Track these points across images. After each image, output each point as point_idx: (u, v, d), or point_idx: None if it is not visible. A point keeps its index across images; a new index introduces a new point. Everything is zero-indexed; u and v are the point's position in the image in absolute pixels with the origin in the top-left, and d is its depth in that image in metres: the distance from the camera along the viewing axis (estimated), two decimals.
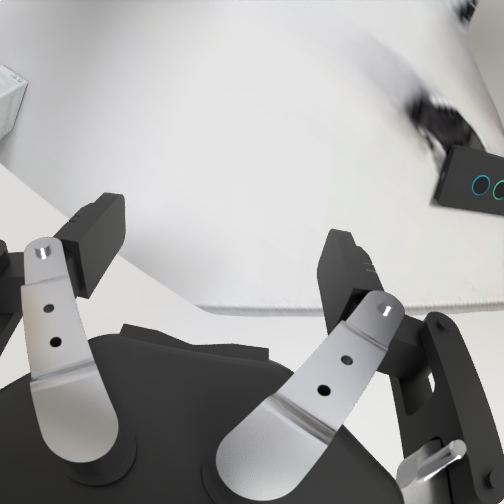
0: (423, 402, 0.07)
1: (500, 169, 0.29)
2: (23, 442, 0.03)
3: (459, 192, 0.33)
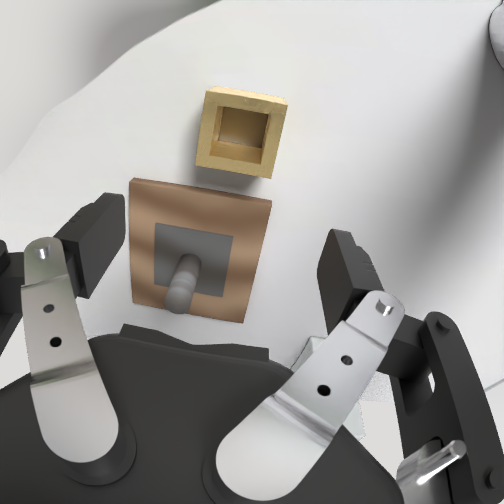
0: (423, 402, 0.07)
1: None
2: (23, 442, 0.03)
3: None
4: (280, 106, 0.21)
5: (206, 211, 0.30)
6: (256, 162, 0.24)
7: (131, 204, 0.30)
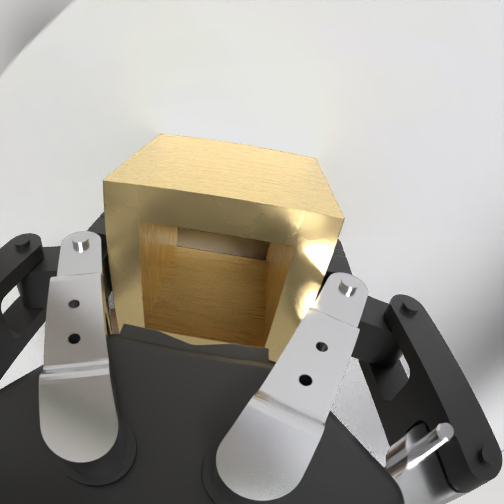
0: (399, 385, 0.08)
1: None
2: (23, 442, 0.03)
3: None
4: (322, 223, 0.08)
5: None
6: (254, 339, 0.10)
7: None
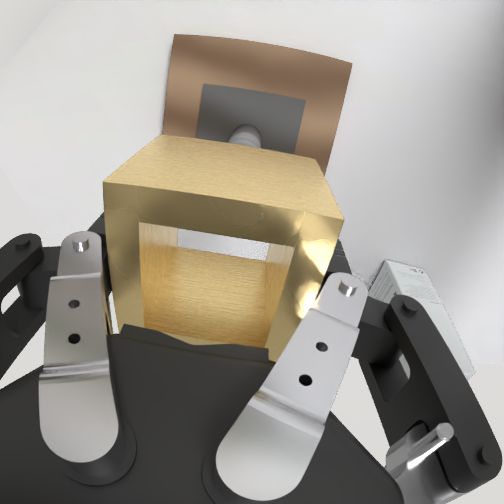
0: (398, 385, 0.08)
1: None
2: (23, 442, 0.03)
3: None
4: (321, 224, 0.08)
5: (273, 67, 0.21)
6: (254, 340, 0.10)
7: (173, 62, 0.21)
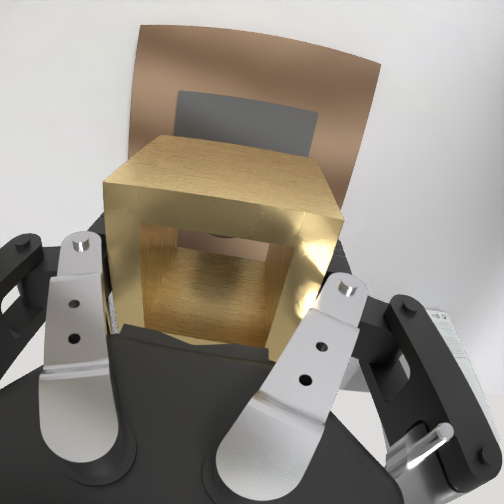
0: (398, 385, 0.08)
1: None
2: (23, 442, 0.03)
3: None
4: (322, 225, 0.08)
5: (274, 66, 0.15)
6: (254, 340, 0.10)
7: (139, 62, 0.15)
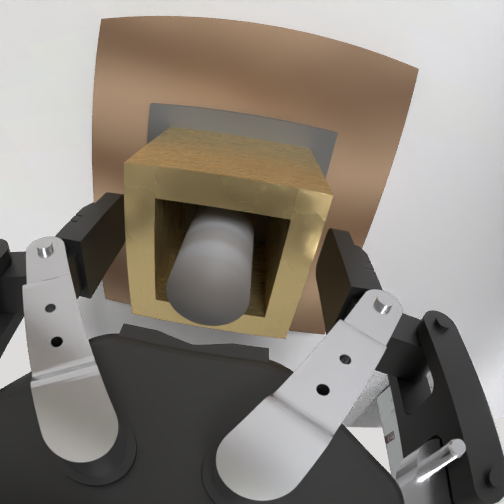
0: (422, 401, 0.08)
1: None
2: (23, 442, 0.03)
3: None
4: (313, 199, 0.09)
5: (278, 69, 0.11)
6: (255, 311, 0.12)
7: (100, 67, 0.11)
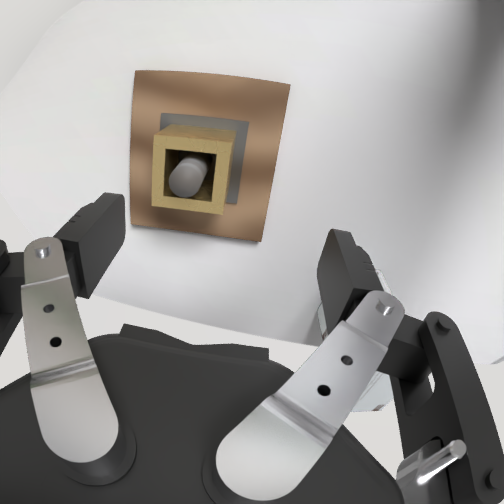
0: (423, 402, 0.07)
1: None
2: (23, 442, 0.03)
3: None
4: (224, 145, 0.23)
5: (219, 94, 0.25)
6: (207, 200, 0.25)
7: (135, 95, 0.25)
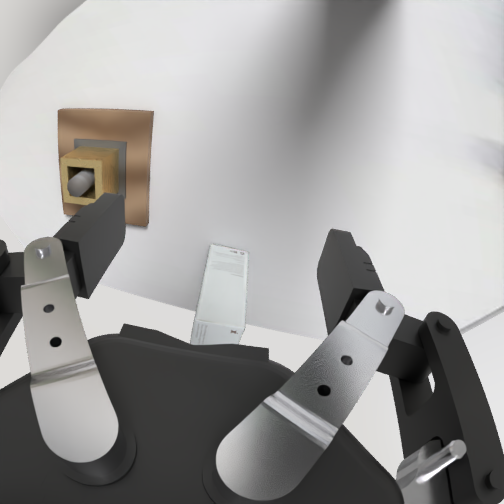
0: (423, 402, 0.07)
1: None
2: (23, 442, 0.03)
3: None
4: (97, 162, 0.32)
5: (106, 124, 0.35)
6: (94, 197, 0.35)
7: (59, 127, 0.35)
